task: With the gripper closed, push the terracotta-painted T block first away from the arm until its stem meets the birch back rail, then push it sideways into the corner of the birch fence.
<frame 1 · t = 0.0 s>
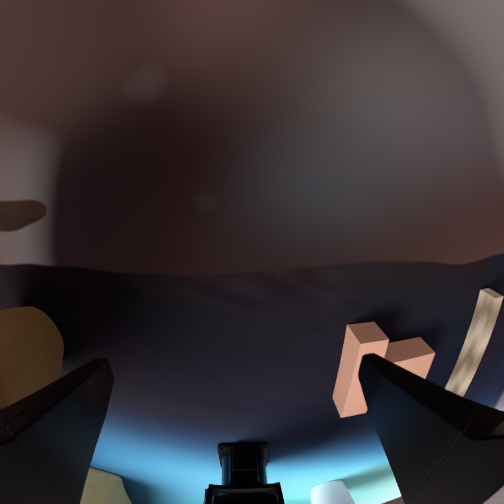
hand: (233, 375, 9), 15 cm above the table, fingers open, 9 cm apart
plant pot: (43, 334, 24), on the table
foam cup: (326, 486, 36), on the table
fence: (434, 363, 28), on the table
t block: (364, 360, 27), on the table
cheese: (118, 491, 35), on the table
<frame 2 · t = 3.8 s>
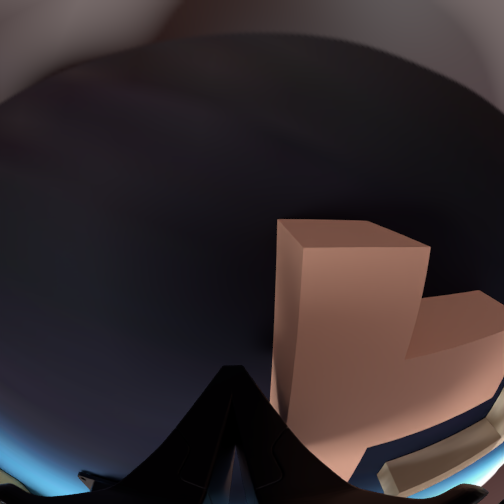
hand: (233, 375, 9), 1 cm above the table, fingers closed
fence: (493, 357, 11), on the table
t block: (348, 350, 10), on the table, touching gripper
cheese: (35, 499, 19), on the table
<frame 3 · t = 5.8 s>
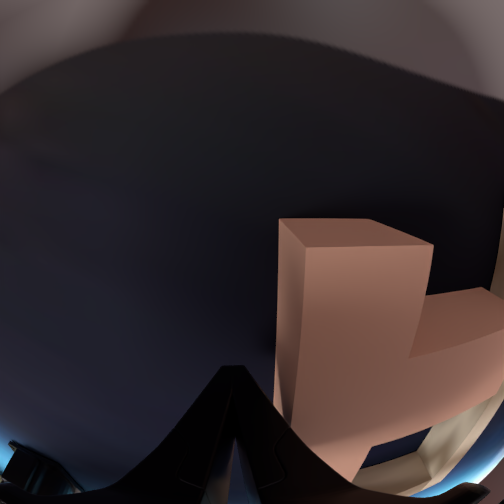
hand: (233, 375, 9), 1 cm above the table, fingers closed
fence: (393, 390, 11), on the table
t block: (352, 348, 10), on the table, touching gripper
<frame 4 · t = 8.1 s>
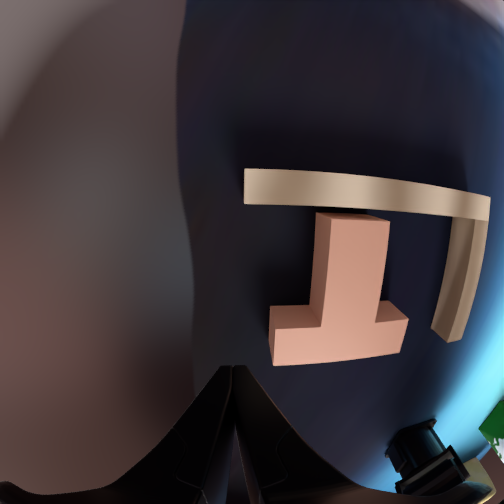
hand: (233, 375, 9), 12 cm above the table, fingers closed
milk carton: (495, 413, 30), on the table
fence: (372, 270, 20), on the table
t block: (333, 303, 21), on the table
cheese: (446, 472, 35), on the table
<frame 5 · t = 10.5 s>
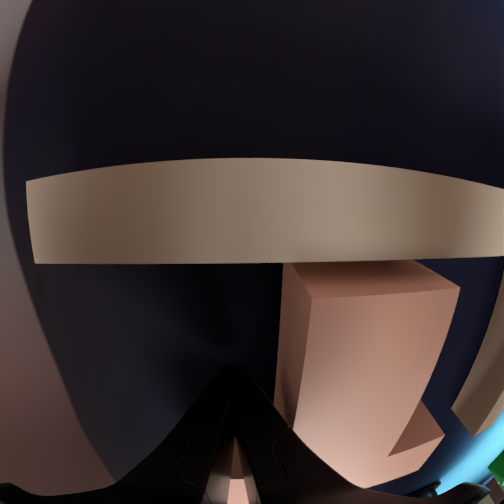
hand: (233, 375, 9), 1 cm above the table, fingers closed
fence: (366, 357, 10), on the table
t block: (318, 406, 10), on the table, touching gripper
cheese: (449, 503, 26), on the table
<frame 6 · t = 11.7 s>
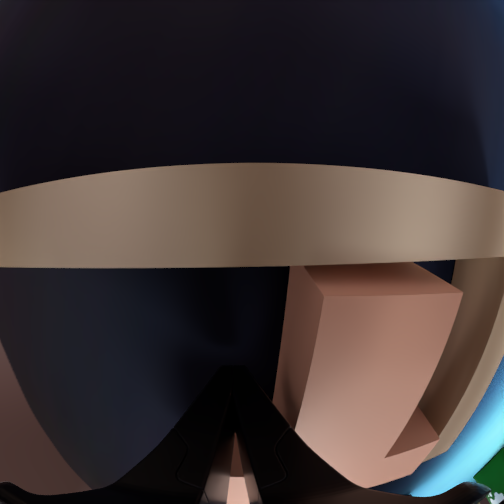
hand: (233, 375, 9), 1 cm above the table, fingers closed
milk carton: (494, 458, 20), on the table
fence: (260, 368, 10), on the table
t block: (316, 407, 11), on the table, touching gripper
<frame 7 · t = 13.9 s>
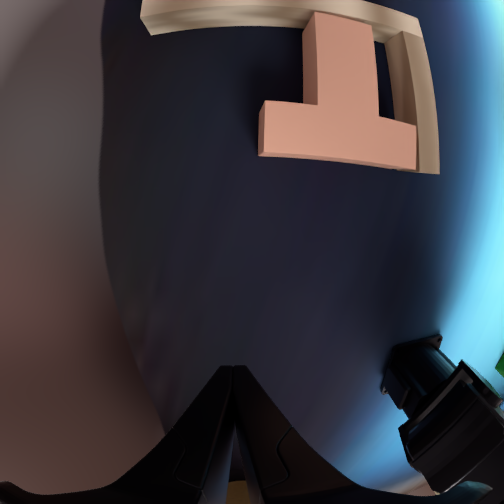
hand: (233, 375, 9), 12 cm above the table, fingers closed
plant pot: (243, 487, 30), on the table
fence: (293, 83, 16), on the table
t block: (330, 119, 17), on the table
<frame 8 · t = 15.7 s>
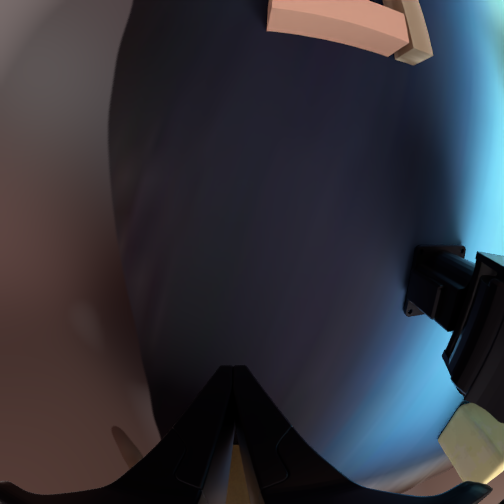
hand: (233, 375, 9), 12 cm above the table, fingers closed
plant pot: (235, 456, 27), on the table
t block: (330, 14, 15), on the table
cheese: (484, 404, 30), on the table
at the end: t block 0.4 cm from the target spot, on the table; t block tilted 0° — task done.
